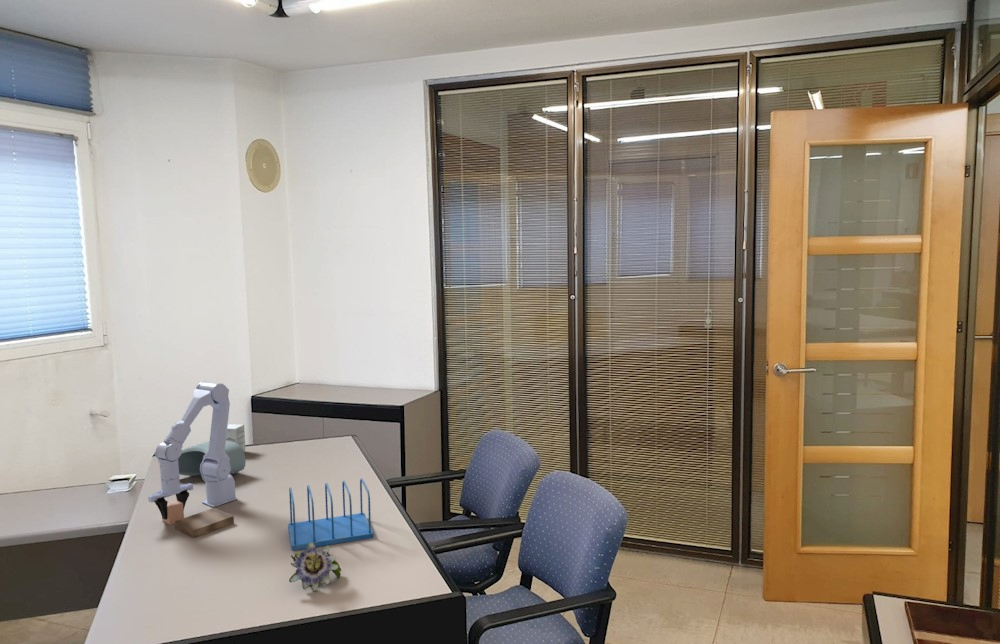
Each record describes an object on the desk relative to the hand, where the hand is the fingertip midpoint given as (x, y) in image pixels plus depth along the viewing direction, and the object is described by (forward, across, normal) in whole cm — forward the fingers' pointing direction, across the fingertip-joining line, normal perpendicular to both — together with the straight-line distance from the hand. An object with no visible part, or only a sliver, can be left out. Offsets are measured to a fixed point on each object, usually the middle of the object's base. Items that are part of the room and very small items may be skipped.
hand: (173, 515), depth 236 cm
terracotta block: (+2, 0, 0) cm, 2 cm away
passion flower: (+2, -2, +74) cm, 74 cm away
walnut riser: (+2, -4, +13) cm, 14 cm away
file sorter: (+2, -25, +52) cm, 58 cm away
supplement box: (+2, -53, -49) cm, 72 cm away
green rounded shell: (+2, -30, -30) cm, 43 cm away
